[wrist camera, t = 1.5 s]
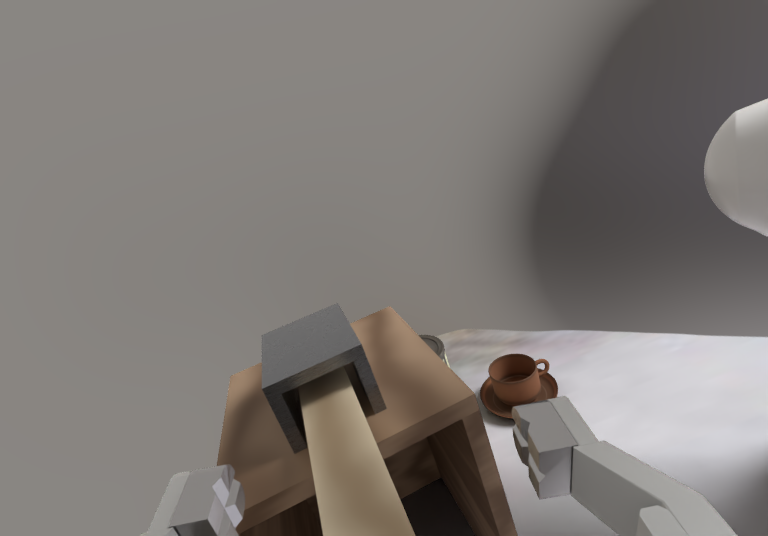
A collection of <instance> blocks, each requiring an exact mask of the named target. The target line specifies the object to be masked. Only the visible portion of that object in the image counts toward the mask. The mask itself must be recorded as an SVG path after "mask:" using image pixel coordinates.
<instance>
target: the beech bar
mask: <svg viewBox="0 0 768 536" xmlns="http://www.w3.org/2000/svg"><path fill="white" fill-rule="evenodd" d="M298 389H299V395H300V401H301V407H302V413H303V419H304V425H305V431H306V437H307V443H308V449H309V455H310V461H311V466H312V472H313V478H314V484H315V490H316V496H317V502H318V508H319V514H320V520H321V526H322V532H323V536H415V533H414V531H413V529H412V526H411V524H410V522H409V519H408V517H407V515H406V512H405V510H404V507H403V505H402V503H401V500H400V498H399V496H398V493H397V491H396V489H395V486H394V484H393V482H392V479H391V477H390V474H389V472H388V470H387V467H386V465H385V463H384V460H383V458H382V456H381V453H380V451H379V448H378V446H377V444H376V441H375V439H374V437H373V434H372V432H371V430H370V427H369V425H368V423H367V420H366V418H365V415H364V413H363V411H362V408H361V406H360V404H359V401H358V399H357V397H356V394H355V392H354V390H353V387H352V385H351V382H350V380H349V378H348V375H347V373H346V371H345V368H344V366H342V367H340V368H337V369H335V370H333V371H331V372H329V373H326V374H324V375H322V376H320V377H318V378H316V379H313V380H311V381H309V382H307V383H305V384H302V385H300V386H298Z"/></svg>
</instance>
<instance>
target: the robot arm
mask: <svg viewBox="0 0 768 536" xmlns="http://www.w3.org/2000/svg"><path fill="white" fill-rule="evenodd" d="M704 177H705V183H706V187H707V190H708V192H709V194H710V196H711V198H712V200H713V201H714V203H715V204H716V205H717V207H718V208H719V209H720V210H721V211H722V212H723V213H724V214H725V215H727V216H728V217H729V218H730V219H732V220H733V221H735V222H737V223H739V224H740V225H743V226H746V227H748V228H750V229H753V230H755V231H757V232H759V233H761V234H763V235H765V236H767V237H768V99H766V100H763V101H761V102H758V103H756V104H753V105H750V106H748V107H746V108H743V109H740V110H738V111H736V112H734V113H733V114H732V115H731V116H730V117H729V118H728V119H727V120H726V122H725V123H724V124H723V125H722V126H721V127H720V129H719V130H718V132H717V133H716V135H715V136H714V138H713V140H712V142H711V144H710V146H709V149H708V151H707V155H706V158H705V165H704ZM512 417H513V419H514V422H515V426H514V427H513V437H514V441H515V446H516V449H517V451H518V454H519V456H520V459H521V461H522V463H524V464H525V465H527V466H528V467H529V478H530V480H531V482H532V485H533V487H534V489H535V491H536V493H537V495H538V497H539V499H546V498H551V497H557V496H563V495H569V494H571V496H572V497H573V498H574V499H576V500H577V501H578V502H579V503H581V504H582V505H583V506H584V507H585V508H587V509H588V510H589V511H590V512H592V513H593V514H594V515H595V516H596V517H598V518H599V519H600V520H601V521H603V522H604V523H605V524H606V525H607V526H609V527H610V528H611V529H612V530H614V531H615V532H616V533H617V534H618V535H620V536H738V535H737V534H736V533H735V532H734V531H733V530H732V528H731V527H730V526H729V525H728V524H727V523H726V521H725V520H724V519H723V518H722V517H721V516H720V514H719V513H718V512H717V511H716V510H715V509H714V508H713V506H712V505H711V504H710V503H709V502H708V501H707V499H706V498H705V497H704V496H703V495H702V494H700V493H698V492H696V491H695V490H693V489H691V488H689V487H687V486H686V485H684V484H682V483H680V482H678V481H677V480H675V479H673V478H671V477H669V476H667V475H666V474H664V473H662V472H660V471H658V470H657V469H655V468H653V467H651V466H649V465H648V464H646V463H644V462H642V461H640V460H639V459H637V458H635V457H633V456H631V455H630V454H628V453H626V452H624V451H622V450H620V449H619V448H617V447H615V446H613V445H611V444H610V443H608V442H606V441H598V439H597V438H596V437H595V435H594V434H593V432H592V431H591V430H590V428H589V427H588V425H587V424H586V423H585V421H584V420H583V418H582V417H581V416H580V414H579V413H578V411H577V410H576V408H575V407H574V406H573V404H572V403H571V401H570V400H569V399H568V398H567V397H565V396H562V397H557V398H553V399H548V400H542V401H537V402H533V403H528V404H523V405H519V406H514V407H513V408H512ZM234 475H235V471H234V469H233V467H232V466H231V464H227V465H221V466H216V467H209V468H204V469H198V470H193V471H188V472H183V473H177V474H175V475H174V476H173V477H172V478H171V480H170V482H169V484H168V486H167V489H166V491H165V493H164V495H163V498H162V500H161V502H160V504H159V507H158V509H157V511H156V514H155V516H154V518H153V521H152V523H151V525H150V527H149V530H148V532H146V533H142V534H141V535H140V536H239V535H238V533H237V531H236V529H235V528H236V526H237V525H238V524H239V523H240V521H241V520H242V519H243V515H244V510H245V494H244V489H243V487H242V485H241V483H240V482H238V481H237V480H235V479H233V478H234Z"/></svg>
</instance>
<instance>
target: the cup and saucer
mask: <svg viewBox="0 0 768 536" xmlns="http://www.w3.org/2000/svg"><path fill="white" fill-rule="evenodd" d="M540 363H544V364H545V369H544V370H541V369H538V368H537V365H538V364H540ZM548 370H549V363H548V361H547V360H545V359H539V360H537V361H534V360H533V359H532V358H531V357H529V356H527V355H523V354H509V355H504V356H502V357H499V358H497V359H496V360H494V361H493V362H492V363H491V365H490V366H489V375H490V377H489V378H488V379H487V380H486V381H485V382H484V383H483V385H482V387H481V390H480V397H481V400H482V402H483V404H484V405H485V407H486V408H487V409H488V410H490V411H491V412H492V413H494V414H496V415H499V416H502V417H506V418H513V417H512V408H513V407H514V406H519V405H523V404H528V403H533V402H537V401H542V400H548V399H553V398H556V397H557V394H558V386H557V382H556V380H555V379H554V378H553V377H552V376H551V375H550V374H549V373H547V372H548Z"/></svg>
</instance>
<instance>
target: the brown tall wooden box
mask: <svg viewBox="0 0 768 536" xmlns="http://www.w3.org/2000/svg"><path fill="white" fill-rule="evenodd" d="M350 325H351V327H352V328H353V330H354V332H355V334H356V335H357V337H358V339H359V340H360V342H361V344H362V346H363V349H364V351H365V354H366V357H367V359H368V362H369V364H370V367H371V369H372V372H373V374H374V377H375V380H376V382H377V385H378V387H379V390H380V392H381V395H382V397H383V400H384V403H385V405H386V408H387V409H385V410H383V411H381V412H379V413H377V414H375V413H374V411H373V409H372V407H371V404H370V402H369V400H368V398H367V396H366V394H365V392H364V390H363V387H362V385H361V383H360V381H359V379H358V377H357V375H356V373H355V370H354V368H353V366H352V364H351V362H350V363H348V364H346V365H344V368H345V371H346V373H347V375H348V378H349V380H350V382H351V385H352V387H353V390H354V392H355V394H356V397H357V399H358V401H359V404H360V406H361V408H362V411H363V413H364V415H365V418H366V420H367V423H368V425H369V427H370V430H371V432H372V434H373V437H374V439H375V441H376V444H377V446H378V448H379V451H380V453H381V456H382V458H383V460H384V463H385V465H386V467H387V470H388V472H389V474H390V477H391V479H392V482H393V484H394V486H395V489H396V491H397V493H398V496H399V498H400V499H402V498H404V497H406V496H408V495H410V494H411V493H413V492H415V491H417V490H419V489H421V488H423V487H424V486H426V485H428V484H430V483H432V482H434V481H435V480H437V479H439V478H442V479H443V481H444V483H445V485H446V486H447V488H448V490H449V491H450V493H451V495H452V496H453V498H454V500H455V501H456V503H457V505H458V507H459V508H460V510H461V512H462V513H463V515H464V517H465V518H466V520H467V522H468V523H469V525H470V527H471V529H472V530H473V532H474V534H475V535H476V536H518V535H517V532H516V529H515V525H514V522H513V519H512V515H511V512H510V509H509V505H508V502H507V499H506V495H505V492H504V489H503V486H502V482H501V479H500V476H499V472H498V469H497V466H496V462H495V459H494V456H493V453H492V449H491V446H490V443H489V439H488V436H487V433H486V429H485V426H484V423H483V419H482V416H481V413H480V410H479V406H478V403H477V400H476V396H475V393H474V392H473V391H472V390H471V389H470V388H469V387H468V386H467V385H466V384H465V383H464V382H463V381H462V380H461V379H460V378H459V377H458V376H457V375H456V374H455V373H454V372H453V371H452V370H451V369H450V368H449V367H448V366H447V365H446V364H445V362H444V361H443V360H442V359H441V358H440V357H439V356H438V355H437V354H436V353H435V352H434V351H433V350H432V349H431V348H430V347H429V346H428V345H427V344H426V343H425V342H424V341H423V340H422V339H421V338H420V337H419V336H418V335H417V334H416V333H415V331H414V330H413V329H412V328H410V326H409V325H408V324H407V323H406V322H405V321H404V320H403V319H402V318H401V317H400V316H399V315H398V314H397V313H396V312H395V311H394V310H393V309H392V308H391V307H390V306H389V307H387V308H385V309H383V310H380V311H378V312H376V313H373V314H371V315H369V316H367V317H364V318H362V319H360V320H357V321H356V322H353V323H351V324H350ZM297 389H298V387H297ZM298 395H299V389H298ZM299 401H300V395H299ZM300 408H301V414H302V420H303V426H304V432H305V438H306V444H307V448H306V449H304V450H302V451H300V452H298V453H296V454H294V452H293V450H292V448H291V446H290V444H289V442H288V440H287V438H286V436H285V434H284V432H283V430H282V428H281V426H280V424H279V422H278V420H277V418H276V416H275V414H274V412H273V410H272V408H271V406H270V404H269V402H268V400H267V398H266V396H265V394H264V392H263V390H262V363H259V364H257V365H255V366H252V367H250V368H248V369H246V370H243V371H241V372H239V373H237V374H234V375H232V376H231V377H230V384H229V390H228V396H227V403H226V409H225V416H224V422H223V429H222V435H221V442H220V448H219V454H218V461H217V466H221V465H227V464H231V466H232V467H233V469H234V471H235V475H234V478H233V479H235V480H237V481H238V482H240V483H241V485H242V487H243V489H244V494H245V510H244V515H243V519H242V520H241V521H240V523H239V524H238V525H237V526H236V528H235V529H236V531H237V533H238V535H239V536H323V532H322V526H321V520H320V514H319V508H318V502H317V496H316V490H315V484H314V478H313V472H312V466H311V461H310V455H309V449H308V443H307V437H306V431H305V425H304V419H303V413H302V407H301V401H300Z"/></svg>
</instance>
